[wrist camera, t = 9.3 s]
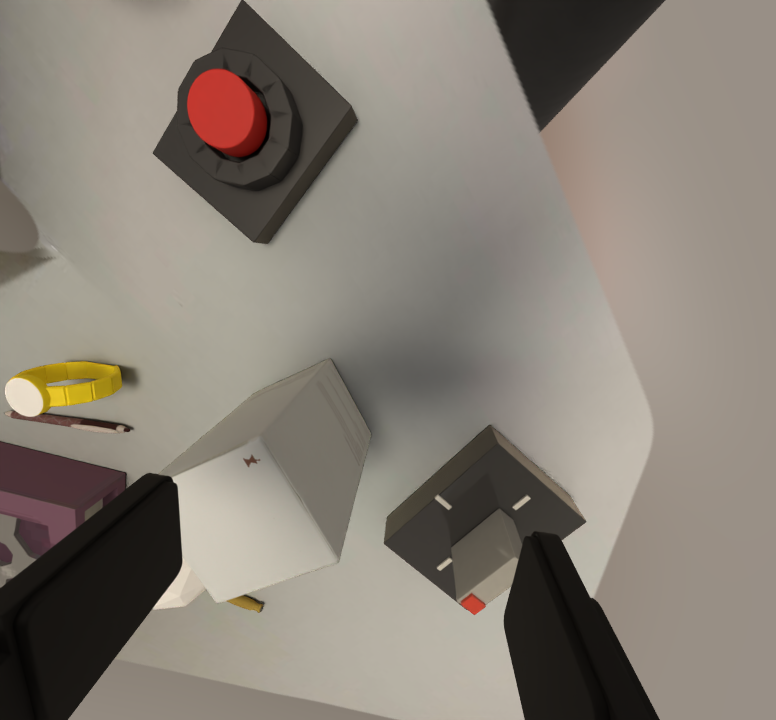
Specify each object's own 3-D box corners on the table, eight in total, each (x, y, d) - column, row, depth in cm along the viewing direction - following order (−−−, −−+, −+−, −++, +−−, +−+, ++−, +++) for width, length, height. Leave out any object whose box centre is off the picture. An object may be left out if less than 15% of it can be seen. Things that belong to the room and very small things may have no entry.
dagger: (156, 579, 35) (155, 567, 34) (163, 570, 35) (162, 558, 34) (258, 619, 34) (260, 608, 33) (263, 609, 35) (265, 598, 34)
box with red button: (499, 507, 26) (516, 560, 21) (513, 519, 26) (533, 574, 22) (450, 547, 27) (456, 604, 23) (464, 558, 27) (473, 618, 23)
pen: (133, 423, 30) (123, 429, 29) (134, 432, 31) (124, 438, 30) (7, 406, 31) (-6, 411, 30) (9, 415, 31) (-4, 420, 30)
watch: (136, 358, 29) (65, 383, 23) (139, 391, 29) (72, 423, 24) (65, 350, 29) (-23, 372, 23) (70, 382, 30) (-13, 411, 24)
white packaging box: (250, 392, 29) (127, 490, 16) (332, 355, 27) (262, 432, 15) (295, 468, 30) (212, 609, 18) (374, 437, 29) (342, 566, 17)
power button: (228, 68, 20) (210, 50, 18) (280, 117, 20) (267, 103, 18) (193, 126, 20) (173, 114, 19) (244, 171, 21) (228, 164, 19)
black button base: (259, 23, 22) (225, -27, 18) (358, 120, 23) (345, 92, 19) (175, 162, 24) (129, 144, 21) (267, 244, 25) (240, 241, 22)
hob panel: (488, 423, 28) (497, 443, 25) (571, 496, 29) (589, 524, 26) (385, 516, 31) (381, 544, 28) (463, 579, 32) (468, 613, 29)
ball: (202, 484, 35) (131, 479, 27) (264, 528, 32) (204, 536, 25) (154, 562, 33) (64, 580, 26) (215, 616, 30) (134, 653, 23)
